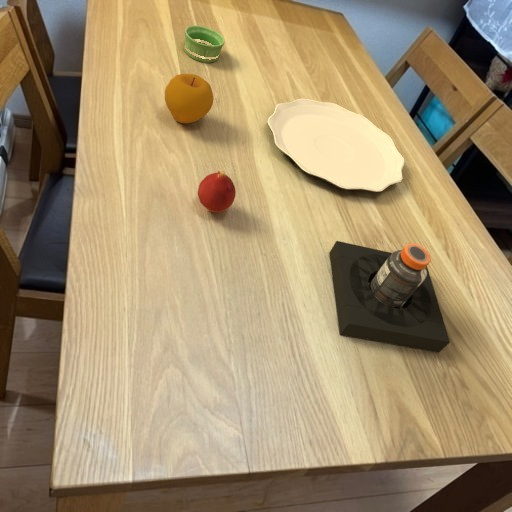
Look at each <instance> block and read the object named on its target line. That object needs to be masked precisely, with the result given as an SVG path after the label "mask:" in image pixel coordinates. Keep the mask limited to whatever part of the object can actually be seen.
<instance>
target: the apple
mask: <svg viewBox="0 0 512 512" xmlns="http://www.w3.org/2000/svg"><path fill="white" fill-rule="evenodd" d="M214 101H215V100H214V93H213V89H212V86H211V84H210V83H209V82H207V80H205V79H204V78H203V77H201V76H200V75H198V74H194V73H179V74H176V75H175V76H174V77H172V78H171V79H170V80H169V82H168V84H166V86H165V89H164V102H165V104H166V107H167V109H168V111H169V113H170V115H171V116H172V117H173V119H174V120H175V121H176V122H178V123H181V124H192V123H195V122H197V121H199V120H200V119H202V118H204V117H205V116H206V115H207V114H208V113H209V112H210V111H211V109H212V107H213V105H214Z"/></svg>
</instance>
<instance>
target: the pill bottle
mask: <svg viewBox="0 0 512 512" xmlns="http://www.w3.org/2000/svg"><path fill="white" fill-rule="evenodd" d="M391 253H392V254H391V255H390V256H389V257H388V259H387V260H386V261H385V263H384V264H383V266H382V267H381V268H380V270H379V271H378V272H377V274H376V275H375V277H374V278H373V279H372V281H371V282H368V283H369V288H370V290H371V291H372V293H373V295H374V296H375V297H376V298H377V299H378V300H379V301H380V302H381V303H383V304H385V305H387V306H389V307H391V308H396V309H402V308H403V304H404V303H405V302H406V301H407V300H408V298H409V297H410V296H411V295H412V294H413V293H414V291H415V290H416V289H417V288H418V287H419V286H420V284H421V283H422V282H423V281H424V280H425V278H426V275H427V269H426V267H427V268H428V266H429V264H430V263H431V261H432V260H431V259H432V258H431V255H430V253H429V251H428V250H427V249H426V248H425V247H423V246H422V245H420V244H417V243H413V242H412V243H408V244H406V245H405V246H404V248H403V249H397V250H395V251H393V252H391Z"/></svg>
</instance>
